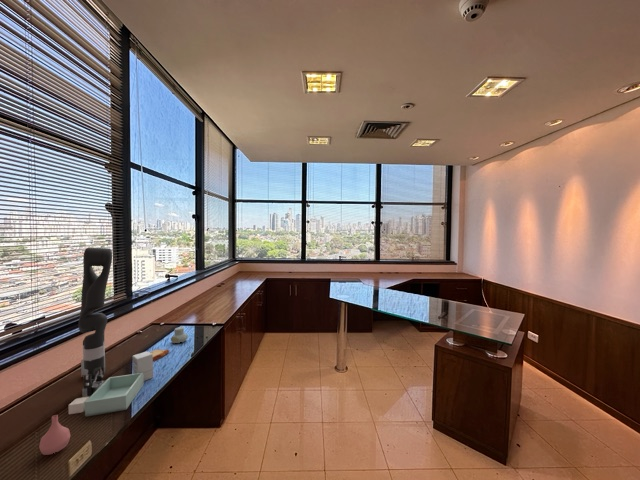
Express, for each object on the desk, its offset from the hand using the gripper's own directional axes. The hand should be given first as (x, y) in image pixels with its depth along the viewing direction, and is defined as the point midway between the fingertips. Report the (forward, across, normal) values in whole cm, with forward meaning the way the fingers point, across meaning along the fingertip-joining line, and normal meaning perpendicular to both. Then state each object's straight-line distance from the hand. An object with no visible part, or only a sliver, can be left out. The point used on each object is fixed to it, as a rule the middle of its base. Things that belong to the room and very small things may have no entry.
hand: (95, 390), depth 128 cm
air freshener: (+2, -63, +25) cm, 67 cm away
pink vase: (+3, +38, +4) cm, 39 cm away
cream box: (+2, +12, -1) cm, 12 cm away
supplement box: (+2, -10, +17) cm, 20 cm away
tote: (+2, +8, +12) cm, 14 cm away
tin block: (+2, 0, -1) cm, 2 cm away
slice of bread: (+2, -38, +15) cm, 41 cm away
